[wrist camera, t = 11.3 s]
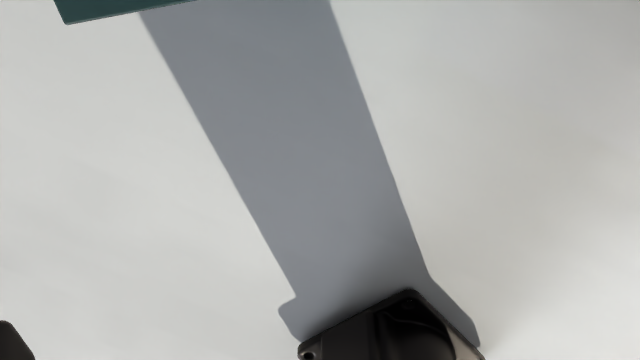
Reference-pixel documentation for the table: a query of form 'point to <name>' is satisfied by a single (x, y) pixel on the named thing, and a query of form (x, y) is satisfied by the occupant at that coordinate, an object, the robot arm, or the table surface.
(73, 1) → the teal box
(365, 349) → the robot arm
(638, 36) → the table surface
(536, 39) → the table surface
